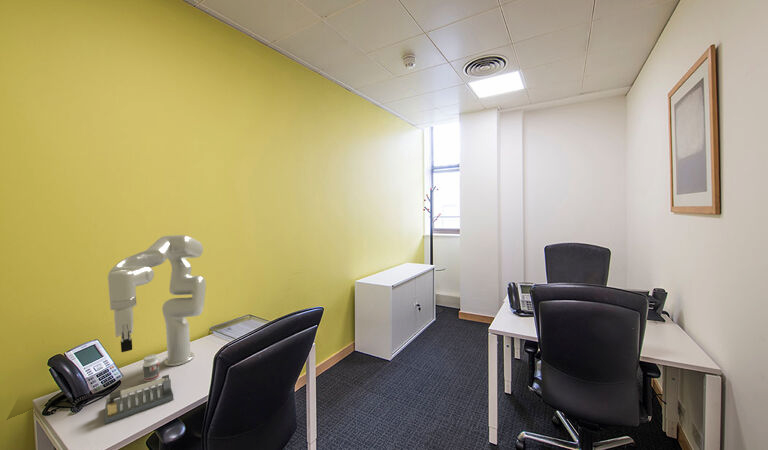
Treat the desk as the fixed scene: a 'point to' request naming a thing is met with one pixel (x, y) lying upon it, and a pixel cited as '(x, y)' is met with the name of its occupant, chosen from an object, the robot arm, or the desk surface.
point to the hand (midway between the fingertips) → (126, 350)
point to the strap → (136, 388)
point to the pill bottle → (150, 368)
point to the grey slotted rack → (138, 401)
